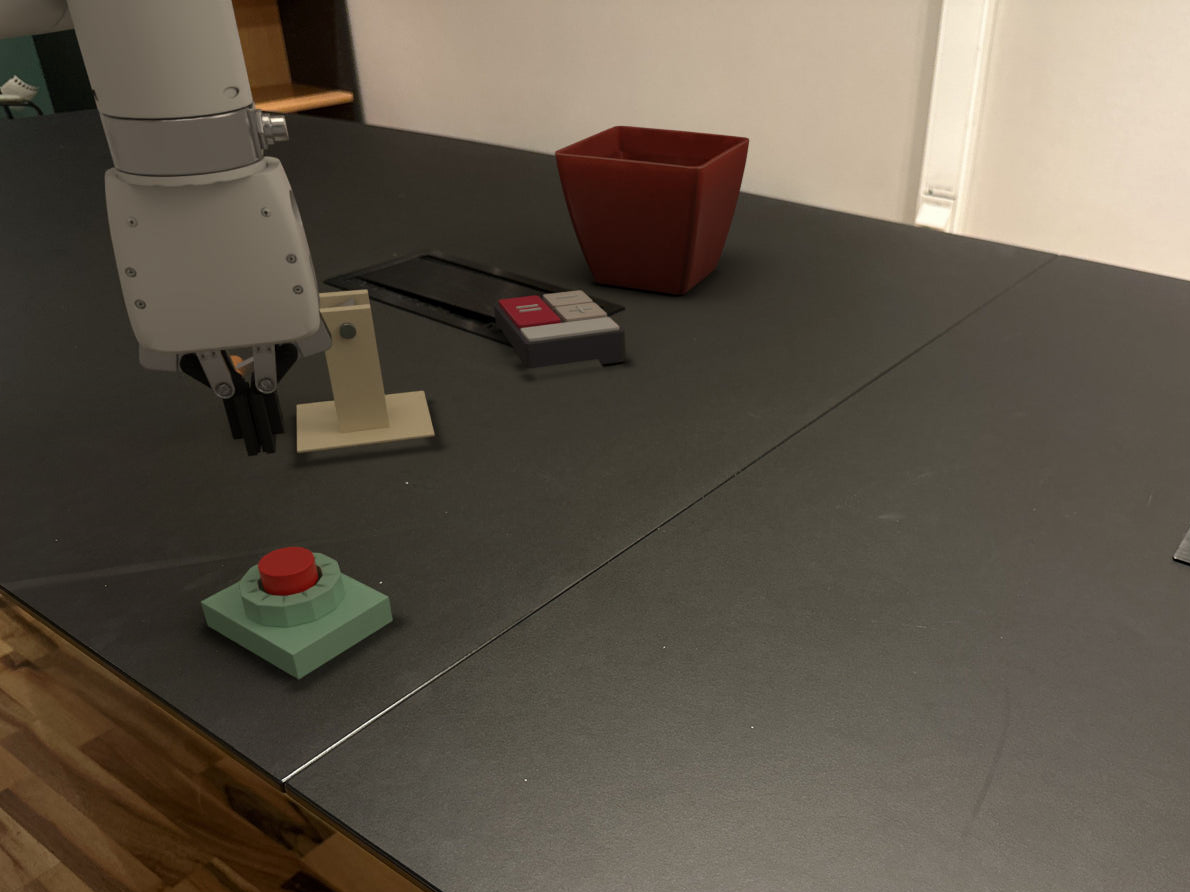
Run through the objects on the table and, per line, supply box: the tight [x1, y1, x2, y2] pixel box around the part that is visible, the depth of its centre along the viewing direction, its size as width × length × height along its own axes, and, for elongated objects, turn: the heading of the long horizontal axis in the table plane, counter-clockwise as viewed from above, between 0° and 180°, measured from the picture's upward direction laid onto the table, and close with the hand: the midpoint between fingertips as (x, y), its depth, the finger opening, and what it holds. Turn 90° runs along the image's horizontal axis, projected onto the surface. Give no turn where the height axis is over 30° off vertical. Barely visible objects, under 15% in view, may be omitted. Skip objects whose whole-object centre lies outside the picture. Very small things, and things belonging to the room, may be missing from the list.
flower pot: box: [554, 125, 750, 295], centre depth 135 cm, size 19×19×17 cm
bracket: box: [296, 289, 436, 454], centre depth 96 cm, size 12×10×13 cm
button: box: [257, 546, 318, 596], centre depth 72 cm, size 4×4×2 cm
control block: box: [200, 552, 394, 680], centre depth 73 cm, size 10×8×4 cm
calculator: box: [493, 289, 627, 369], centre depth 118 cm, size 11×4×15 cm
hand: (262, 444), depth 67 cm, fingers closed
